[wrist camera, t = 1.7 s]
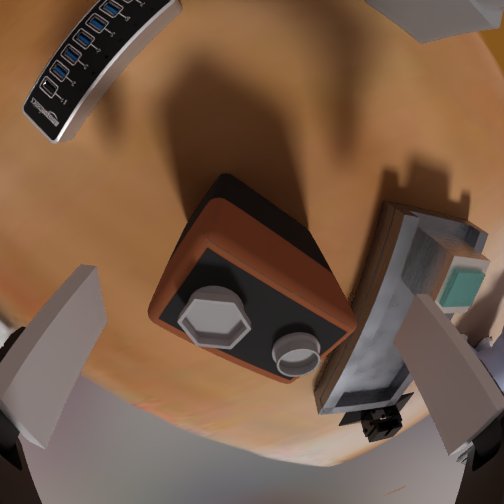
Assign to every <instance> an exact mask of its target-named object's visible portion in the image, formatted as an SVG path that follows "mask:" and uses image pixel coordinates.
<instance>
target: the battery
mask: <svg viewBox="0 0 504 504" xmlns="http://www.w3.org/2000/svg"><path fill="white" fill-rule="evenodd" d="M148 316H149V318H150V320H151V321H152V322H154V323H155V324H157V325H158V326H160V327H162V328H164V329H166V330H167V331H169V332H171V333H173V334H175V335H177V336H179V337H181V338H183V339H185V340H187V341H188V342H190V343H192V344H194V345H196V346H199V347H201V348H203V349H205V350H207V351H209V352H211V353H213V354H215V355H217V356H220V357H222V358H224V359H226V360H228V361H231V362H233V363H235V364H237V365H240V366H242V367H244V368H246V369H249V370H251V371H254V372H256V373H258V374H261V375H263V376H266V377H268V378H271V379H273V380H276V381H279V382H282V383H285V384H289V383H292V382H293V381H295V380H296V379H298V378H299V377H300V376H303V375H307V374H309V373H311V372H312V371H314V370H315V369H316V368H317V367H318V365H319V364H320V360H321V359H323V358H324V357H325V356H326V355H327V354H329V353H330V352H331V351H332V350H333V349H334V348H336V347H337V346H338V345H339V344H340V343H341V342H342V341H344V340H345V339H346V338H347V337H348V336H349V335H350V334H351V333H352V332H353V331H354V330H355V329H356V327H357V320H356V317H355V315H354V313H353V311H352V309H351V307H350V305H349V303H348V301H347V299H346V297H345V295H344V293H343V292H342V290H341V288H340V286H339V284H338V282H337V280H336V278H335V276H334V275H333V273H332V271H331V269H330V267H329V265H328V263H327V262H326V260H325V258H324V256H323V254H322V253H321V251H320V249H319V247H318V245H317V244H316V242H315V240H314V238H313V237H312V235H311V233H310V232H309V231H308V230H307V229H306V228H305V227H304V226H302V225H301V224H300V223H298V222H297V221H296V220H294V219H293V218H292V217H290V216H289V215H287V214H286V213H285V212H283V211H282V210H281V209H279V208H278V207H276V206H275V205H274V204H272V203H271V202H269V201H268V200H267V199H265V198H264V197H262V196H261V195H260V194H258V193H257V192H255V191H254V190H252V189H251V188H250V187H248V186H247V185H245V184H244V183H242V182H241V181H240V180H238V179H237V178H235V177H234V176H232V175H230V174H227V173H225V174H221V175H220V176H219V177H218V179H217V180H216V181H215V183H214V184H213V186H212V187H211V189H210V190H209V191H208V193H207V194H206V196H205V197H204V199H203V200H202V202H201V203H200V205H199V206H198V207H197V209H196V210H195V212H194V213H193V215H192V216H191V218H190V219H189V221H188V223H187V224H186V226H185V228H184V230H183V232H182V234H181V237H180V239H179V241H178V243H177V245H176V247H175V249H174V251H173V253H172V255H171V258H170V260H169V262H168V264H167V266H166V268H165V271H164V273H163V275H162V277H161V279H160V282H159V284H158V286H157V288H156V291H155V293H154V295H153V298H152V300H151V302H150V305H149V308H148Z"/></svg>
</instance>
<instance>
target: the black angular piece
mask: <svg viewBox="0 0 504 504" xmlns="http://www.w3.org/2000/svg"><path fill="white" fill-rule="evenodd" d="M413 394H414V392H413V393H409V394H404V395H401V397H400V398H399V399H398V401H397V402H396V403H395V404H394V405H391V406H385V407H379V408H373V409H367V410H360V411H352V412H346V413H345V415H344V417H343V419H342V420H341V422H340V424H339V426H343V425H349V424H355V423H360V422H361V424H362V427H363V432H364V434H365V437H368V440H369V442H374V441H378V440H382V439H386V438H390V437H393V436H394V435H395V434H396V433H397V432H398V431H399V430H400V429H401V428H402V423H401V421H402V418H401V415H400V413H399V412H400V411H401V409H402V408H403V407H404V406H405V404H406V403H407V402H408V400H409V399H410V398H411V396H412V395H413ZM385 417H386V418H385ZM380 418H382V419H381V420H380ZM383 418H385V419H383Z"/></svg>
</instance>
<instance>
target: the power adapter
mask: <svg viewBox="0 0 504 504" xmlns="http://www.w3.org/2000/svg"><path fill="white" fill-rule="evenodd" d="M365 1H366V2H367V3H368V4H369V5H370V6H372V7H373V8H375V9H376V10H377V11H379V12H380V13H382V14H383V15H385V16H386V17H387V18H389V19H390V20H392V21H393V22H394V23H396V24H397V25H398V26H399V27H401V28H402V29H403V30H405V31H406V32H407V33H408V34H410V35H411V36H412V37H413V38H414V39H416V40H417V41H418V42H420V43H423V44H424V43H428V42H431V41H435V40H439V39H443V38H447V37H452V36H456V35H461V34H466V33H471V32H477V31H483V30H488V29H496V28H499V27H500V23H501V18H502V12H503V10H504V0H365Z"/></svg>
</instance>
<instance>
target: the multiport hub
mask: <svg viewBox="0 0 504 504" xmlns="http://www.w3.org/2000/svg"><path fill="white" fill-rule="evenodd" d="M182 10H183V9H182V6H181V5H180V3H179V1H178V0H98V1H97V2H96V3H95V4H94V6H93V7H92V8H91V9H90V10H89V11H88V12H87V13H86V14H85V15H84V17H83V18H82V19H81V20H80V21H79V22H78V24H77V25H76V26H75V27H74V28H73V30H72V31H71V32H70V33H69V35H68V36H67V37H66V38H65V40H64V41H63V42H62V44H61V45H60V46H59V48H58V49H57V51H56V52H55V53H54V55H53V56H52V58H51V59H50V61H49V62H48V64H47V65H46V67H45V68H44V70H43V71H42V73H41V74H40V76H39V78H38V79H37V81H36V83H35V84H34V86H33V88H32V89H31V91H30V93H29V95H28V96H27V98H26V100H25V102H24V104H23V107H22V112H23V114H24V115H25V116H26V117H27V118H28V119H29V120H30V121H31V122H32V123H33V124H34V125H35V126H36V127H37V128H38V130H39V131H40V132H41V133H42V134H43V135H44V136H45V137H46V138H47V139H48V140H49V141H50V142H51V143H53V144H56V143H60V142H64V141H68V140H72V139H73V138H74V137H75V135H76V134H77V132H78V131H79V129H80V128H81V126H82V125H83V123H84V122H85V120H86V119H87V117H88V116H89V114H90V113H91V112H92V110H93V109H94V107H95V106H96V105H97V103H98V102H99V101H100V99H101V98H102V97H103V95H104V94H105V93H106V91H107V90H108V89H109V88H110V86H111V85H112V84H113V83H114V81H115V80H116V79H117V78H118V77H119V75H120V74H121V73H122V72H123V71H124V69H125V68H126V67H127V66H128V65H129V64H130V63H131V62H132V60H133V59H134V58H135V57H136V56H137V55H138V54H139V53H140V52H141V51H142V50H143V49H144V48H145V47H146V46H147V45H148V44H149V43H150V42H151V41H152V40H153V39H154V38H155V37H156V36H157V35H158V34H159V33H160V32H161V31H162V30H163V29H164V28H165V27H166V26H167V25H168V24H169V23H171V22H172V21H173V20H174V19H175V18H176V17H177V16H179V15H180V14H181V13H182Z"/></svg>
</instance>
